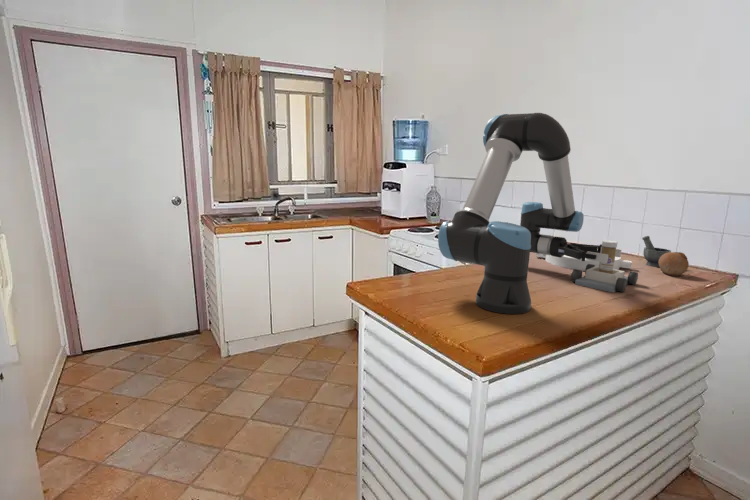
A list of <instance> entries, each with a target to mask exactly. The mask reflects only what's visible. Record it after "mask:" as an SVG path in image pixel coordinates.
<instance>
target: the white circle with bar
mask: <svg viewBox="0 0 750 500" xmlns="http://www.w3.org/2000/svg"><path fill="white" fill-rule="evenodd" d="M535 256H536V258H537V257H539V258H543V259H545V262H547V263H549V264H550V265H553V266H556V267H560V268H563V269H564V268H565V269H570V270H574V269H577V270H581V271H582V272H583V271H584V272H585V269H586V266H587V264H593V265H595V266H599V263H600V262H599V261H593V260H587V259H586V258H585V261H581V260H582V259H580V260H579V259H576V258H573V257H569V256H566V255H564V256H563V257H555V256H551V255H545V256H543V254H539V253H535ZM632 263H633V261H631V260H627V259H626V260H625V259H624V260H623V259H622V256H621V257H615V261H614V267H613V269H615V270H620V268H623V269H632Z"/></svg>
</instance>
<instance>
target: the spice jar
mask: <svg viewBox="0 0 750 500" xmlns="http://www.w3.org/2000/svg"><path fill="white" fill-rule="evenodd" d="M601 245H602V251H601V254H608V261H607V263H604V262H600V263H599V272H604V273H609V274H612V272H613V267H614V261H615V252H616V249H617V248H618V241H616V240H609V239H603V240H602V243H601Z"/></svg>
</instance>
